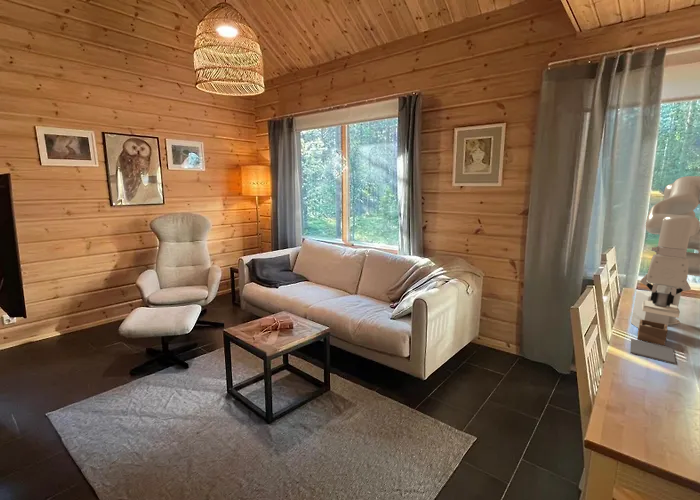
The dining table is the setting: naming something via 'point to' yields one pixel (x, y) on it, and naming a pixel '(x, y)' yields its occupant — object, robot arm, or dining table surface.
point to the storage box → (652, 332)
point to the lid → (661, 306)
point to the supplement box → (643, 315)
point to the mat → (652, 351)
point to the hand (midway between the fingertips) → (660, 303)
